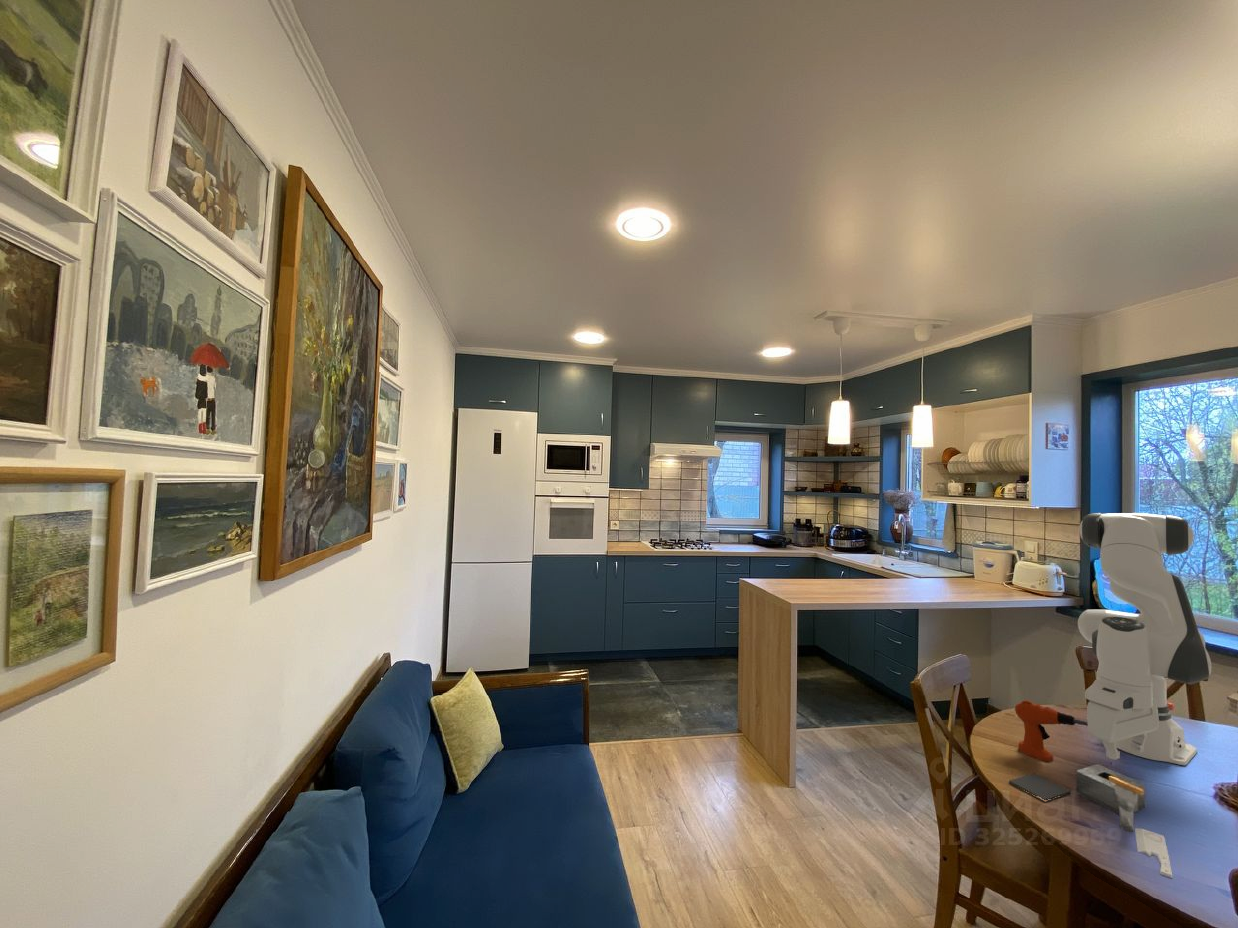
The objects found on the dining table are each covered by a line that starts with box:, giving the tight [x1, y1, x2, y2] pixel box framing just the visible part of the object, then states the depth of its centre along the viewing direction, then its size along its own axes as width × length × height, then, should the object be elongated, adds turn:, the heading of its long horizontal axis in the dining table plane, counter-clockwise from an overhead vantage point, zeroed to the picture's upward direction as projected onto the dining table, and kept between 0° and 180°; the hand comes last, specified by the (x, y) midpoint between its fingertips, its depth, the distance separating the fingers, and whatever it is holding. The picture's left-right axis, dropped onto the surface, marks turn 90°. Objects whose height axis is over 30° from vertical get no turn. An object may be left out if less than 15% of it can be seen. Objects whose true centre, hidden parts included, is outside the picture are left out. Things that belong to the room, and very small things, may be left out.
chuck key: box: [1109, 776, 1144, 833], centre depth 111 cm, size 4×6×10 cm, turn 21°
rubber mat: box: [1008, 772, 1071, 800], centre depth 125 cm, size 10×8×1 cm
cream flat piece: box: [1134, 828, 1174, 879], centre depth 104 cm, size 5×15×1 cm, turn 136°
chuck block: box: [1075, 763, 1146, 815], centre depth 121 cm, size 9×9×6 cm
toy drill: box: [1014, 699, 1088, 762], centre depth 137 cm, size 5×19×15 cm, turn 34°
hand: (1125, 754), depth 111 cm, fingers open, 8 cm apart
